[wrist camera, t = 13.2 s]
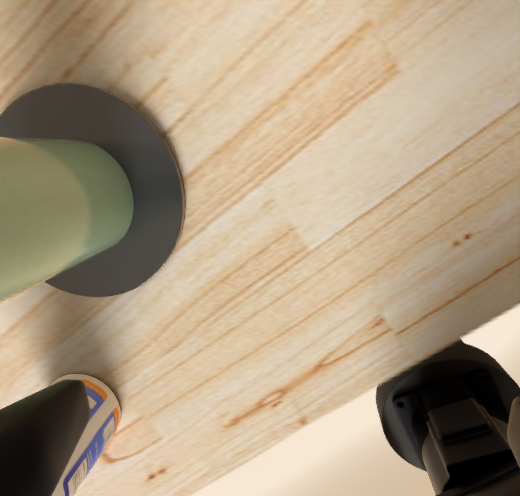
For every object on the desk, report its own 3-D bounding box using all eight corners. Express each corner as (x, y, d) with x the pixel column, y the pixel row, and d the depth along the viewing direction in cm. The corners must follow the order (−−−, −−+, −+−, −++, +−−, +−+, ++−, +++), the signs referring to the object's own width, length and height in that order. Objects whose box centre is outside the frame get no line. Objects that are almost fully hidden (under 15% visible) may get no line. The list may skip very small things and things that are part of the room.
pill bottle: (34, 385, 25) (-127, 526, 16) (97, 359, 24) (-38, 496, 14) (76, 446, 26) (-51, 612, 17) (138, 425, 25) (37, 591, 16)
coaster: (222, 247, 21) (220, 249, 20) (61, 321, 23) (56, 325, 23) (114, 40, 18) (108, 37, 18) (-51, 148, 21) (-59, 148, 21)
